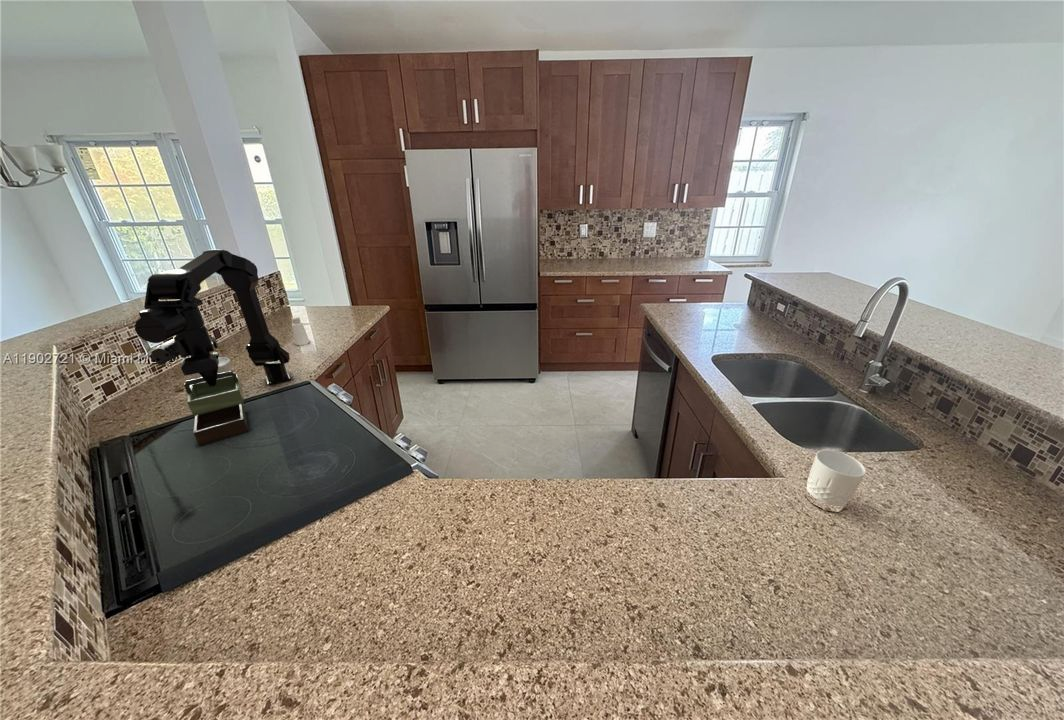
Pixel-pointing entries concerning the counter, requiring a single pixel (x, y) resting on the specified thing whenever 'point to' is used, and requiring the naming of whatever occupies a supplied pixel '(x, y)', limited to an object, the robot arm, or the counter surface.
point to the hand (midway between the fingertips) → (213, 384)
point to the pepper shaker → (299, 332)
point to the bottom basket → (220, 424)
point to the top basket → (214, 393)
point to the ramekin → (223, 366)
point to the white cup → (834, 477)
